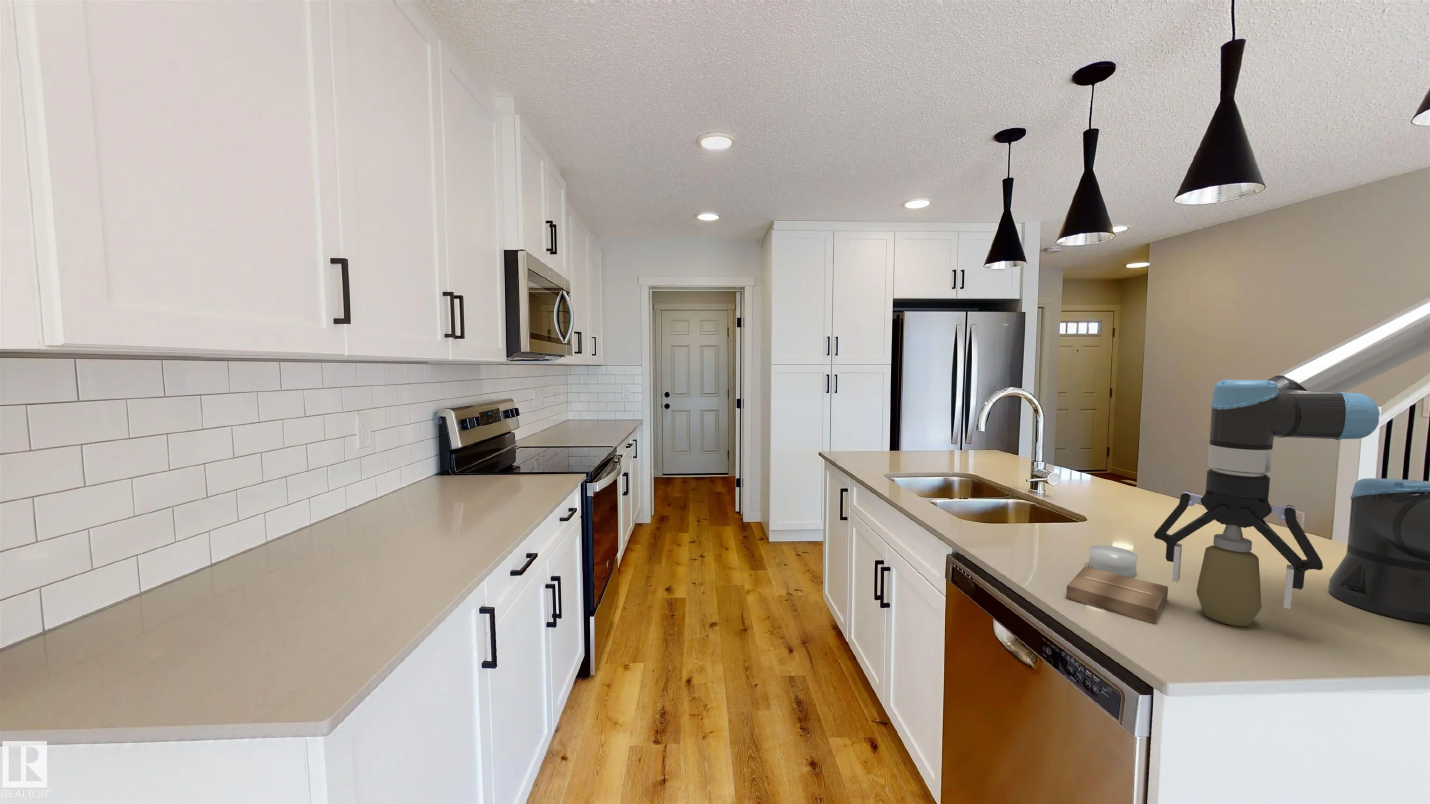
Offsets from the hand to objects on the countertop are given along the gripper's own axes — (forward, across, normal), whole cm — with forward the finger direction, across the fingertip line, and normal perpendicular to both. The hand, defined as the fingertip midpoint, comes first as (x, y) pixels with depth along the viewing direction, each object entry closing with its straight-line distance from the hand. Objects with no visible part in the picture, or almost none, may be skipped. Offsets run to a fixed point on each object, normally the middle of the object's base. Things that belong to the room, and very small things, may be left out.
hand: (1228, 592), depth 89 cm
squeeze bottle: (+5, 0, 0) cm, 5 cm away
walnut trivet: (+5, +14, +4) cm, 16 cm away
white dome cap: (+5, +18, -11) cm, 22 cm away
